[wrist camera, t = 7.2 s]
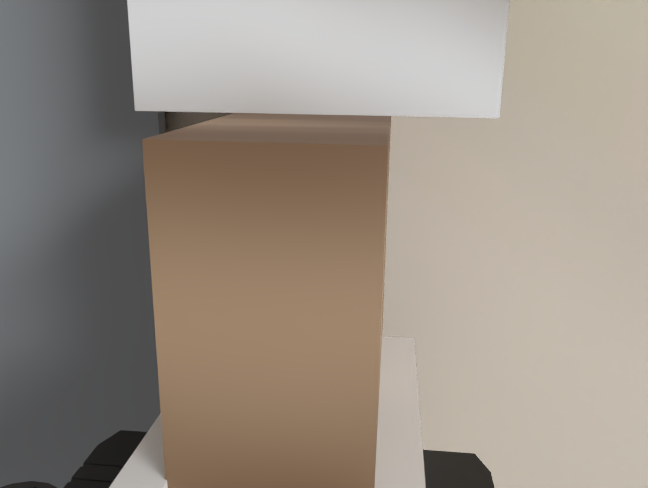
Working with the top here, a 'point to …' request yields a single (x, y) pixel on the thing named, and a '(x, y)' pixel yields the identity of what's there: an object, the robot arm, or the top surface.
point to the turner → (286, 216)
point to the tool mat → (71, 238)
